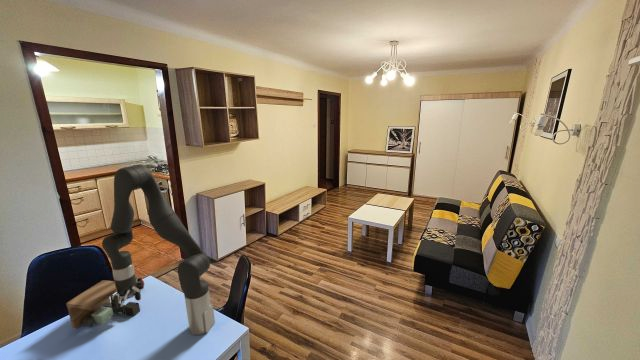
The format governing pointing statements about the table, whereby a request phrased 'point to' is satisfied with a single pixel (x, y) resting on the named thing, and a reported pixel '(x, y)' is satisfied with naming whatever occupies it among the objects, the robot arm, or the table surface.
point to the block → (102, 314)
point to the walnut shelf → (90, 301)
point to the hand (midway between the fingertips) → (130, 305)
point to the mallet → (129, 308)
